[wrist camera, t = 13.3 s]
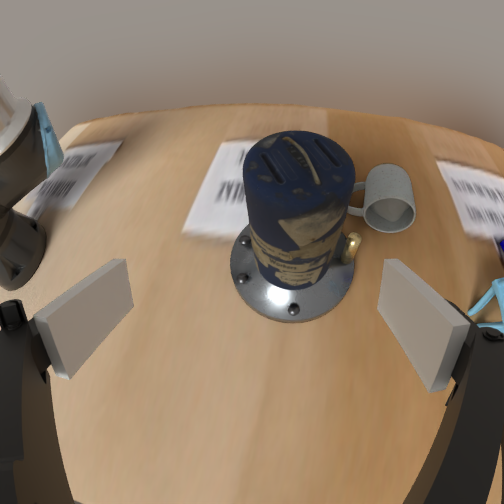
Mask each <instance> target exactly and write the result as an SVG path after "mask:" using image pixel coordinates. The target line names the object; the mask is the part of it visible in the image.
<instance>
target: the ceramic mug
mask: <svg viewBox="0 0 504 504" xmlns="http://www.w3.org/2000/svg"><path fill="white" fill-rule="evenodd" d="M359 190H365V198H364V207H363V208H355V207H351V206H348V210H347V212H348V213H349V214H351V215H355V216H363V217H364V220H365V222H366V223H367V224H368V225H369V226H370V227H371V228H373V229H375V230H377V231H380V232H385V233H395V232H400V231H403V230H405V229H407V228H408V227H409V226H411V225H412V223H413V222H414V220H415V218H416V208H415V202H414V196H413V191H412V185H411V181H410V178H409V176H408V174H407V172H406V171H405V170H404V169H403V168H402V167H400V166H398V165H396V164H392V163H383V164H379V165H377V166H375V167H374V168H372V169H371V171H370V172H369V174H368V176H367V179H366V182H359V183H355V184H354V188H353V192H356V191H359ZM353 192H352V193H353Z"/></svg>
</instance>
